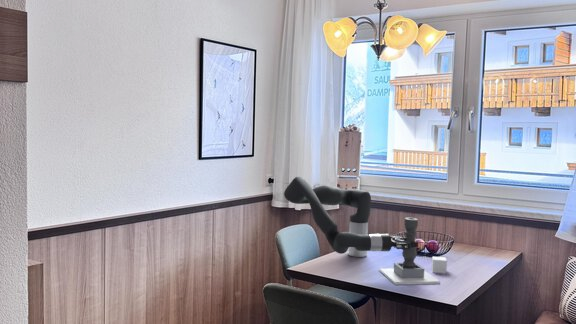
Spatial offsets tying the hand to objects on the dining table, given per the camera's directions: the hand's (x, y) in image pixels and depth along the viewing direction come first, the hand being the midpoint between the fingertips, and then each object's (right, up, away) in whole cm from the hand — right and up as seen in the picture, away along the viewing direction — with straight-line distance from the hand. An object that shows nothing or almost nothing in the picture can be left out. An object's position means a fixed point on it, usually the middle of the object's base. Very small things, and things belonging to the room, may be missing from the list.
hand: (414, 242), depth 229 cm
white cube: (+14, -15, +12) cm, 24 cm away
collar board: (-2, -15, +1) cm, 16 cm away
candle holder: (-2, -15, +1) cm, 15 cm away
